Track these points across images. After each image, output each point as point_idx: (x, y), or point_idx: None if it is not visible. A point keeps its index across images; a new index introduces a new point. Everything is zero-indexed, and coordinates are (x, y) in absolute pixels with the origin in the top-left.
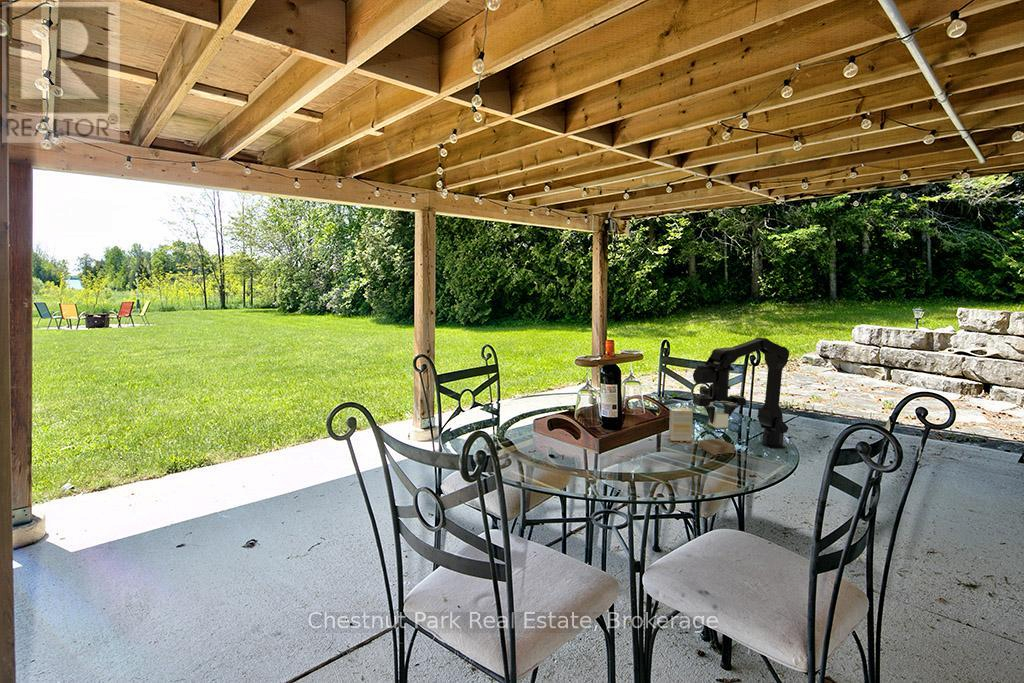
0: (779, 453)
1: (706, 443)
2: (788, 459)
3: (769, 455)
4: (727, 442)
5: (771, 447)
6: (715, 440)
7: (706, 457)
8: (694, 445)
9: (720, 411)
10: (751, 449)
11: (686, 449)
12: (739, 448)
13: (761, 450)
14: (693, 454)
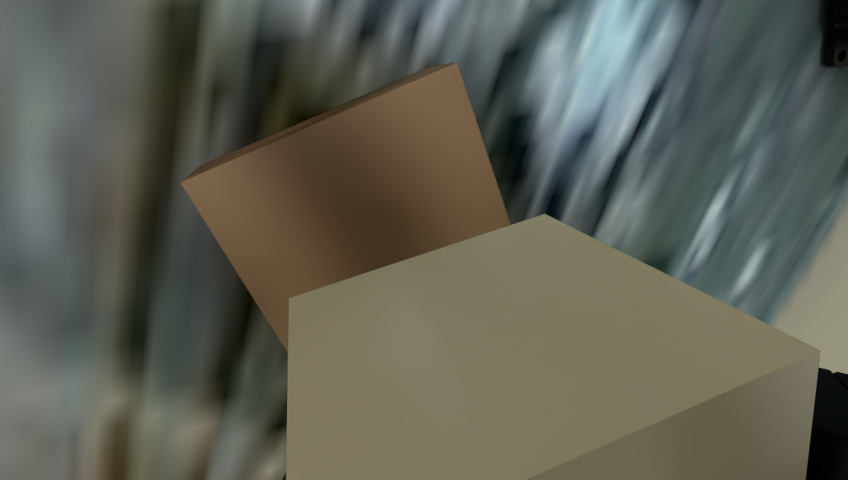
0: (800, 191)
1: (258, 295)
2: (776, 305)
3: (718, 251)
4: (501, 206)
5: (833, 67)
6: (393, 152)
7: (240, 419)
8: (156, 63)
9: (753, 422)
10: (674, 124)
11: (44, 237)
12: (595, 110)
13: (730, 139)
14: (121, 376)
